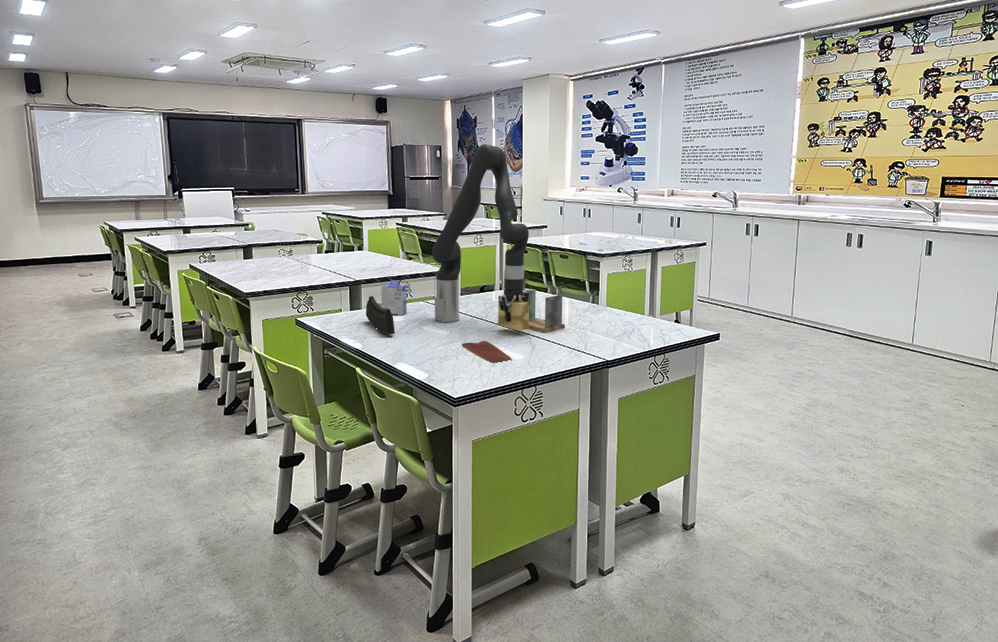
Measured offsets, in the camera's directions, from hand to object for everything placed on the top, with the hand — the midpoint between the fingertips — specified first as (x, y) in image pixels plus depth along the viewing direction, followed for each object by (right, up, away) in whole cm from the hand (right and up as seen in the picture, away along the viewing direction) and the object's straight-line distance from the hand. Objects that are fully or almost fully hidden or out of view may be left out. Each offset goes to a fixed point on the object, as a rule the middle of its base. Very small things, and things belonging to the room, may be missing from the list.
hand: (513, 320), depth 263 cm
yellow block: (0, -2, +1) cm, 2 cm away
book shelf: (+8, -2, +13) cm, 16 cm away
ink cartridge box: (-51, +3, +34) cm, 61 cm away
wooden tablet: (-10, -12, -27) cm, 31 cm away
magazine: (-52, -4, +6) cm, 53 cm away
